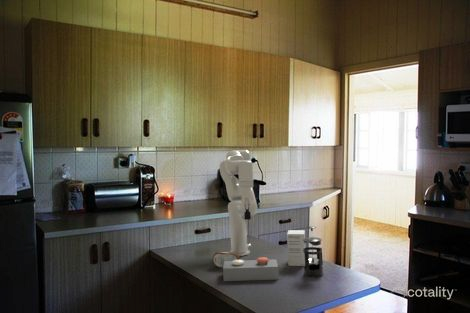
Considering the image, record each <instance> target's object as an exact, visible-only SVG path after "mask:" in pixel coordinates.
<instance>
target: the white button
mask: <svg viewBox="0 0 470 313" xmlns="http://www.w3.org/2000/svg"><path fill="white" fill-rule="evenodd" d="M243 260H244V259H241V260H233V261H232V264H233V265H235V266H241V265H243V264H244V261H243Z"/></svg>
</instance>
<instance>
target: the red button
mask: <svg viewBox="0 0 470 313" xmlns="http://www.w3.org/2000/svg"><path fill="white" fill-rule="evenodd" d="M256 260H257V262H258V263H259V264H260V265H266V263H267V262H268V260H269V257H265V256H263V257H257V258H256Z"/></svg>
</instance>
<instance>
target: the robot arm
mask: <svg viewBox="0 0 470 313" xmlns="http://www.w3.org/2000/svg"><path fill="white" fill-rule="evenodd" d="M225 155H226V156H225V158H226V159H225V160H223V161H221V162H220V164H219V173H220V176H221V178H222V180H223V182H224V183H225V187H226V193H227V197H228V200H229V201H230V202H228V205H227V211H228V216H229V217H228V218H229V224H230V225H229V226H230V228H229V230H230V246H231V247H230V250H229V251H228V252H235V253H237V254H238V255H239V256H240V257H242V256H247V255H250V253H251V250H250V249H249V248H251V247H252V244H251V243H248V238H247V236H248V234H247V222H246V221H245V220H248V221H249V220H251V218H252V217H251V216H255V215H257V213H258V209H259V208H258V203H257V199H256V196H255V192H254V189H253V188H254V173H253V172H254V167H253V162H252V161H251V153H250V152H249V150H247V149H233V150H229V151H228V152H227V154H225ZM235 175H238V178H237V177H236V176H235ZM242 217H244V219H243V218H242Z"/></svg>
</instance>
